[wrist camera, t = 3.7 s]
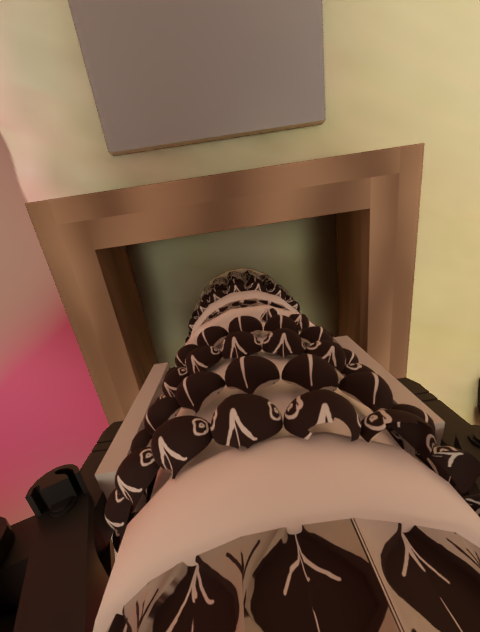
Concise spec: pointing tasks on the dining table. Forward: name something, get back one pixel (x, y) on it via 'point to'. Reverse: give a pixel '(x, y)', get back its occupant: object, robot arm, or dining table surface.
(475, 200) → the dining table surface
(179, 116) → the slate tile
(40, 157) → the dining table surface
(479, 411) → the end cap
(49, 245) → the brown wooden open box
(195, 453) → the decorative candle
